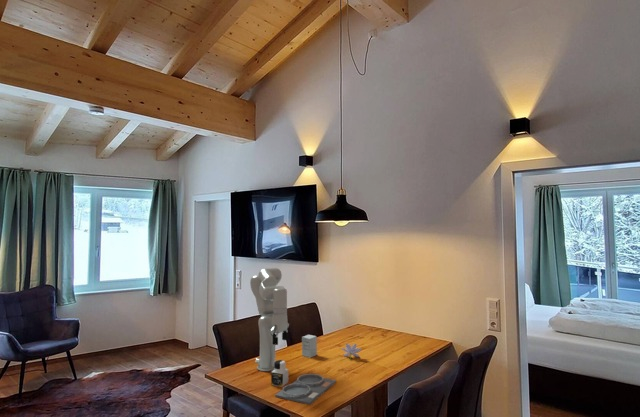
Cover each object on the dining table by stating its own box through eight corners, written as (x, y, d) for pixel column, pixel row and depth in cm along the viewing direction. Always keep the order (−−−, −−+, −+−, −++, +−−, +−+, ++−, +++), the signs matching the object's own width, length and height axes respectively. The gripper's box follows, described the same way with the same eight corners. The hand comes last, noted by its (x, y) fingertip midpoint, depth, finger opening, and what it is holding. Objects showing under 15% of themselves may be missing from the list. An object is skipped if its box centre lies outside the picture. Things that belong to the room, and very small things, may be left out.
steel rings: (277, 394, 189) (277, 391, 189) (305, 375, 215) (305, 372, 215) (301, 400, 182) (301, 396, 183) (327, 379, 208) (327, 376, 209)
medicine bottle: (270, 385, 203) (271, 362, 204) (277, 380, 210) (277, 358, 211) (282, 387, 201) (282, 364, 202) (288, 382, 207) (288, 359, 208)
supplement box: (308, 353, 258) (308, 334, 259) (317, 355, 253) (317, 336, 254) (301, 355, 252) (301, 336, 253) (310, 358, 247) (309, 338, 248)
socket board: (275, 396, 189) (275, 394, 189) (304, 376, 216) (304, 374, 216) (310, 404, 180) (309, 402, 180) (336, 382, 207) (336, 380, 207)
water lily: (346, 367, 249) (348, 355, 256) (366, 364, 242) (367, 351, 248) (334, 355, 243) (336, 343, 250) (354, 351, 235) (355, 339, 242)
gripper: (282, 307, 217) (282, 337, 216) (265, 313, 202) (265, 345, 201) (293, 308, 214) (293, 339, 213) (277, 314, 199) (277, 347, 197)
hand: (280, 342), depth 207 cm, fingers open, 9 cm apart
